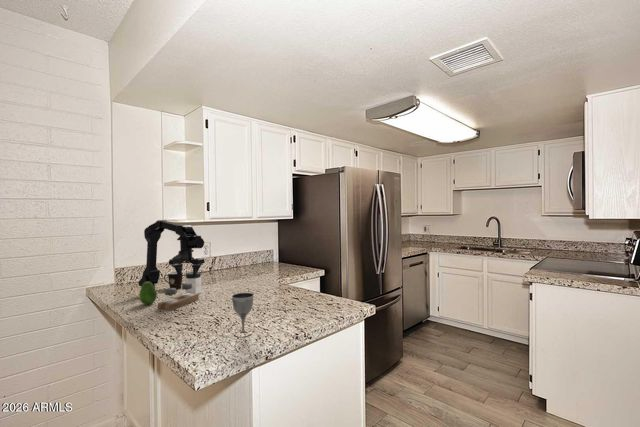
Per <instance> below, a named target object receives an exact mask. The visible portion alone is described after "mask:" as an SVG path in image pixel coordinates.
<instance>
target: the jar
mask: <svg viewBox="0 0 640 427" xmlns="http://www.w3.org/2000/svg"><path fill="white" fill-rule="evenodd" d="M201 275H202V274H201V272H200V271H198V272H197V275H196V277H195V278H194V277H193V271H189V272H185V278H184V281H185V282H184V283H192V288H191V289H189V290H186V289H184V290H185V293H192V294H198V295H199V294H202V276H201ZM185 293H184V294H185Z"/></svg>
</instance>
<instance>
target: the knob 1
mask: <svg viewBox="0 0 640 427" xmlns="http://www.w3.org/2000/svg"><path fill="white" fill-rule="evenodd" d="M176 294H177V290H176V288H170V287H169V288H168V287H167V288H165V289H164V295H165V296H168V297H173V296H174V295H176Z"/></svg>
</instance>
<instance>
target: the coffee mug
mask: <svg viewBox="0 0 640 427" xmlns="http://www.w3.org/2000/svg"><path fill="white" fill-rule="evenodd" d="M183 274H184V271H182V274H181V277H180V278H179V276H178V274H177V272H176V271H171V272H170V271H169V272H168V273H167V274H164V276H163V280H164V281H165V282H166V283H168V286H169V288H176V291H177V290H180V289H182V284H183V283H182V282H183V276H184V275H183ZM166 276H167V277H168V280H166V278H165V277H166Z"/></svg>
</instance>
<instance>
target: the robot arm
mask: <svg viewBox="0 0 640 427" xmlns="http://www.w3.org/2000/svg"><path fill="white" fill-rule="evenodd" d="M165 230H168V231H171V232H174V233H175V234H176V235H177V236H179V237H178V238H177V239H176V241H179V243H180V250H179V251H178V254H176V255H175V256H173V257H172V258H170V259H169V260H168V265H169V266H170V267H173V268H174V270H175V272H177V274H178V276H179V278H180V277H181V274H182V272H183V264H191V267H192V272H193V277H194V278H195V277H196V275H197V272H199V269H200V268H201V267H202V266H203V265H204V264H205V262H206V261H205V258H203V257H198V258H197V257H196V258H195V257H194V256H193V252H194V249H202V248H203V247H204V246H205V240H204V238H203V237H202V235H201V234H200V235H198V234H197V233H196V231H195V229H194V228H193V226H192V225H190V224H178V223H175V222H171V221H169V220H168V221H167V220H164V219H161V220H160V219H158V220H156V221H155V222H154V223H152V224H150V225H148V226H147V227H146V228H144V232H143V233H144V239H145V241H146V242H147V243H146V247H147V248H146V249H147V250H146V265H145V268H144V270H143V271H142V276H141V278H140V279H139V281H138V283H137V284H138V286H139V287H142V284H143V283H144V282H147V281H149V282H151V283H152V284H153V286H154V287H155V288H156V284H158V283H159V280H160V277H161V274H160V273H161V270H160V269H158V268H157V258H158V257H157V256H158V255H157V254H158V242H159V240H160V239H161V238H162V234H163V232H164V231H165Z"/></svg>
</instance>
